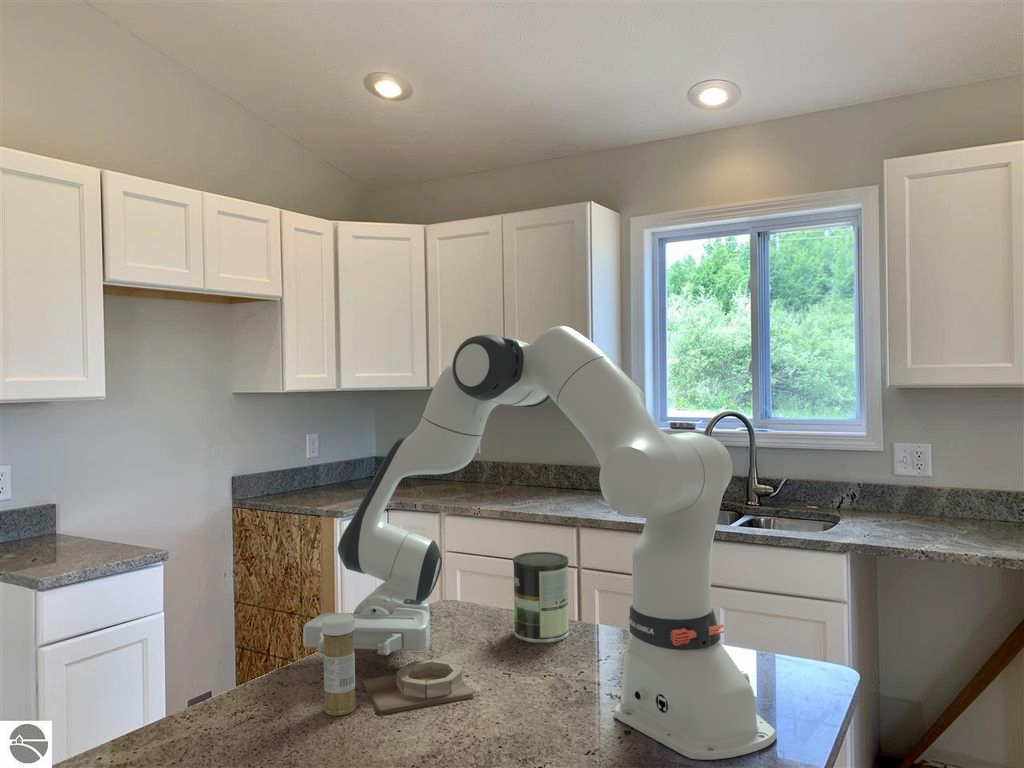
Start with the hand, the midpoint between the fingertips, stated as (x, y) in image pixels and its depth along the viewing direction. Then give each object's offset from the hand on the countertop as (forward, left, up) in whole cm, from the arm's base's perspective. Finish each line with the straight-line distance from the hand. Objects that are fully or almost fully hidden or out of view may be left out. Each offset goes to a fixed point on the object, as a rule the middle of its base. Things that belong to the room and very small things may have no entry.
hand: (352, 649), depth 113 cm
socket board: (-3, -9, -7) cm, 12 cm away
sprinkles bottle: (-5, +3, -7) cm, 9 cm away
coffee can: (+12, -37, -7) cm, 40 cm away
